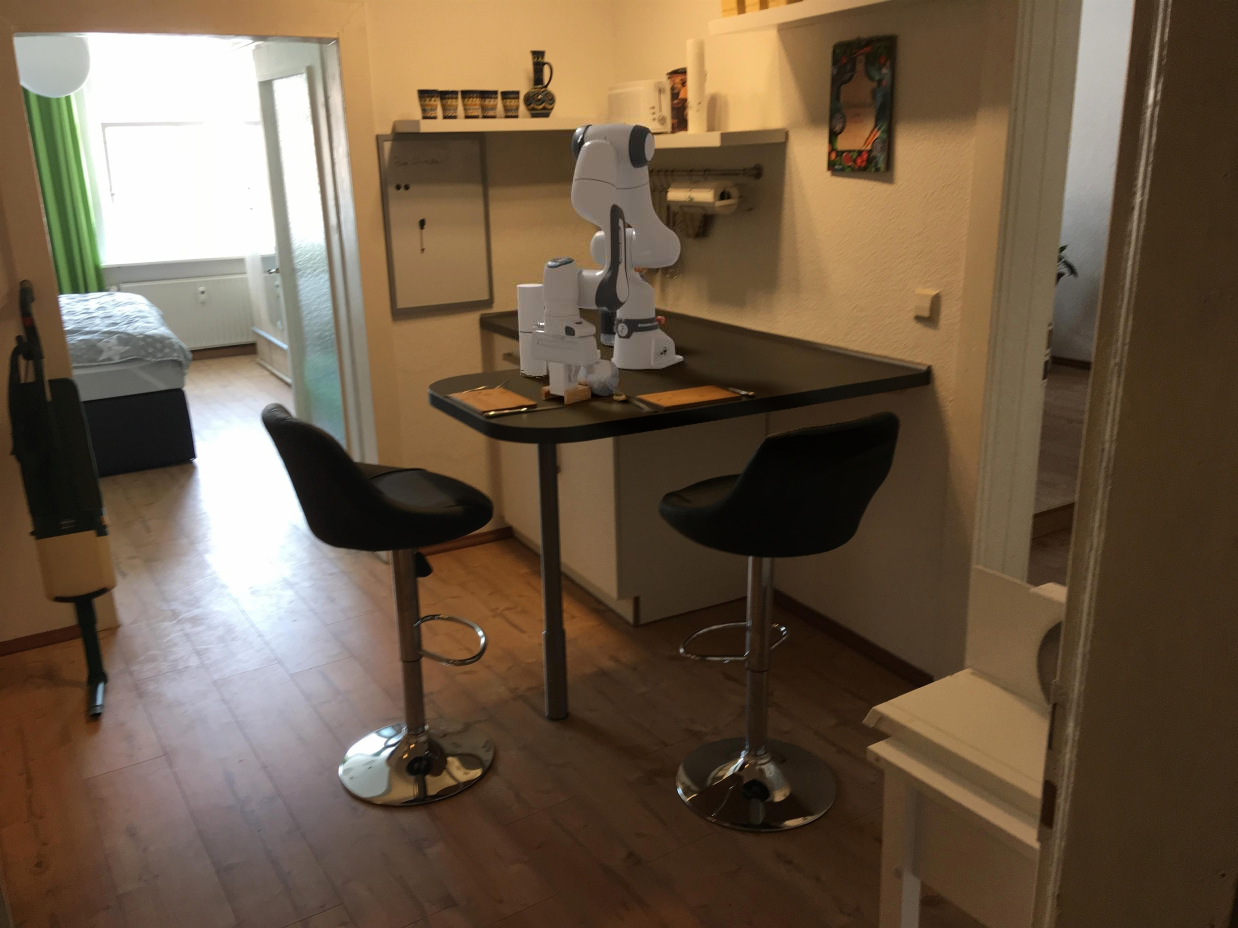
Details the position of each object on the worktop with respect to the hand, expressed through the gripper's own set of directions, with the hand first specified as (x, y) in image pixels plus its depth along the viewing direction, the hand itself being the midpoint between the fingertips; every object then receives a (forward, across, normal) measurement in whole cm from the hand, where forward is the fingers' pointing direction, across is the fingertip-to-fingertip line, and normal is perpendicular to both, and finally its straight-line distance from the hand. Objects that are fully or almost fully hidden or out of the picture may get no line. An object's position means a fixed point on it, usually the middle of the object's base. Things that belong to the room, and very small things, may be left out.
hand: (563, 380), depth 251 cm
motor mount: (+5, 0, +5) cm, 7 cm away
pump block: (+3, 0, 0) cm, 3 cm away
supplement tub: (+5, -41, +69) cm, 80 cm away
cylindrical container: (+5, -28, +16) cm, 33 cm away
